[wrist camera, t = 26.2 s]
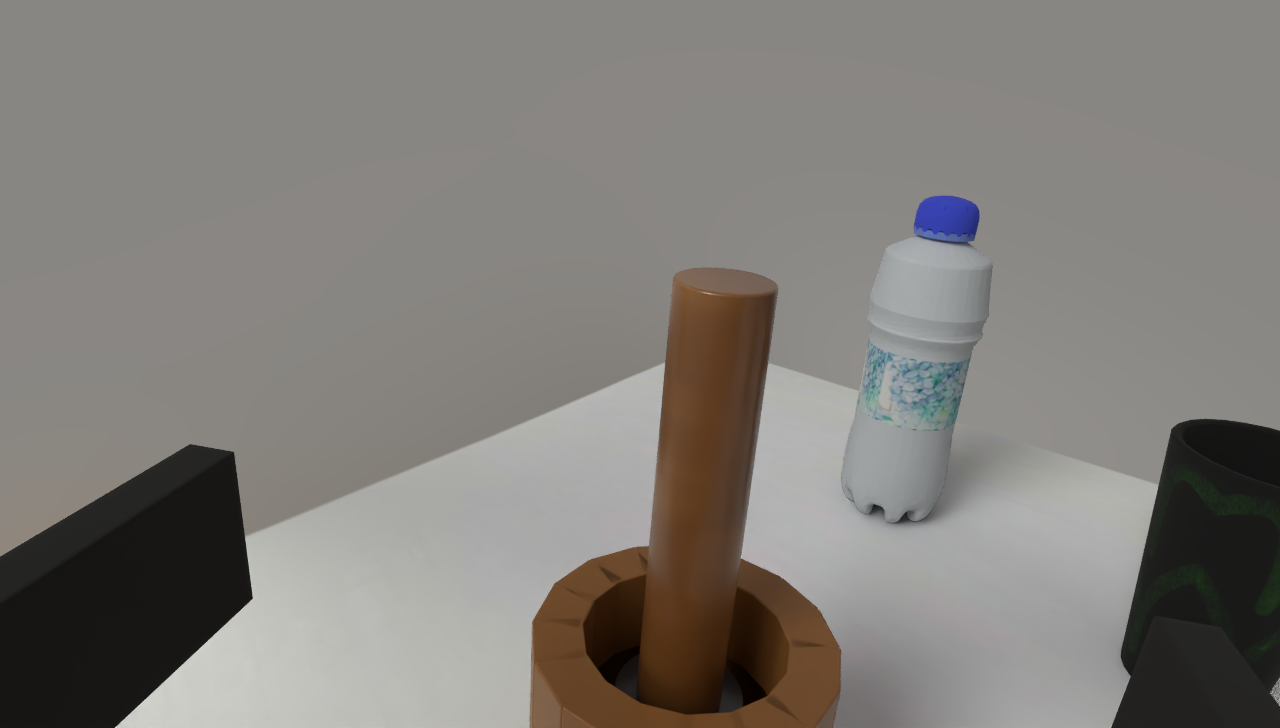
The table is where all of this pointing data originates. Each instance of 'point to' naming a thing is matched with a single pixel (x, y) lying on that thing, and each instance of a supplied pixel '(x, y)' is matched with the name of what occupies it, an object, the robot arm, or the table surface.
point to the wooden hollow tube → (611, 635)
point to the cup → (1215, 541)
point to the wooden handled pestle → (702, 489)
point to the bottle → (917, 361)
